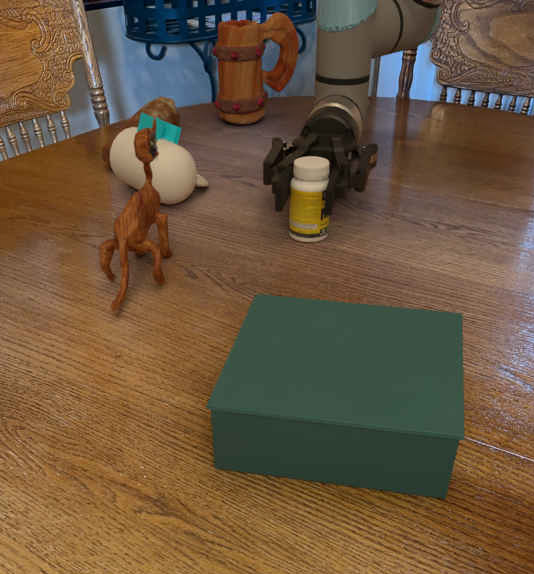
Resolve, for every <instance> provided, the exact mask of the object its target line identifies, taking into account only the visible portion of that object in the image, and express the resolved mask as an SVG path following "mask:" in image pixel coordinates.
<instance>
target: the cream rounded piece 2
mask: <svg viewBox="0 0 534 574" xmlns="http://www.w3.org/2000/svg"><path fill="white" fill-rule="evenodd" d="M153 119H154V117H152V116H149V115H147V114H145V113H142V112H141V116H140V120H139V124H138V127H131V128H127V129H125V130H123V131H122V132H121V133H119V134H118V135H117V137H116V138H115V140H114V141H113V144H112V147H111V149H110V163H111V167H110V168H111V170H112V172H113V174H114V175H115V176H116V178H117V179H119V181H120V182H122V183H124V184H125V185H128V186H130V187H132V188H133V189H135V190H137V191H139V190H140V189H141V188H142V187H143V186H144V184H145V181H146V176H145V172H144V168H143V166H144V164H143V162H141V161H139V160H138V158H137V157H136V155H135V149H134V138H135V134H136V133H137V132H138V131H139V130H141V129H144V128H146V127H148V128H152V126H153ZM155 119H156V139H157V142H156V145H157V151H158V153H159V154H158V160H155V159H154V160H153V162H151V163H150V167H151V170H152V174H153V177H152V186H153V187H154V188H155V189H156V190H157V191H158V192H159V194H160V198H161V199H160V204H161V203H162V204H164V205H176V204H179V203H181V202H183V201H185V200H186V199H187V198H188V197H190V196H191V194H192V193H193V191H194V189H195V187H196V188H207V187H208V186H209V182H208V180H207V179H206V178H205V177H203V176H202V175H200V174H199V173H198V170H197V169H198V168H197V165H196V162H195V159H194V158H193V156H192V155H191V153H190V152H189V151H188V150H187V149H185V148H184V147H183V146H182V145H179V140H180V136H181V134H182V127H180V126H179V127H178V126H175V125H172V124H170V123H167V122H165V121H162V120H161V118H155Z"/></svg>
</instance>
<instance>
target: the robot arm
mask: <svg viewBox="0 0 534 574" xmlns="http://www.w3.org/2000/svg"><path fill="white" fill-rule="evenodd" d="M443 2H444V0H318V6H317V7H318V8H317V14H316V18H315V21H316V22H315V23H316V47H315V49H316V51H315V78H314V93H313V94H314V95H313V108H312V110H311V111H310V113H309V115H308V117H307V118H306V121H305V123H304V124H303V126H302V128H301V130H300V133H299V136H298V137H296V138H294V139H293V140H292V142H291V143H288V141H287V140H283V139H282V138H281V137H277V136H276V137H275V136H274V137H273V138H271V148H270V150H269V151H268V153H267V155H266V156H265V158H264V160H263V161H262V184H263V185H264V186H271V194H272V195H274V205H275V206H274V212H276V213H283V211H284V208H285V206H286V204H287V202H288V200H289V199H290V182H291V180H292V178H293V177H295V176H294V172H293V170H294V161H295V160H296V159H298V158H301V157H308V156H315V157H322V158H325V159H327V160H328V161H329V182H328V184H327V187H326V190H325V207H324V215H328V216H329V217H331V216H332V213H333V211H334V207H335V205H336V201H337V199H338V200H344V199H346V198H347V195H348V193H349V192H350V190H351V189H354V191H355V192H356V193H363V192H365V191H366V188H367V184H368V180H369V177H370V173H371V171H372V170H373V169H375V168H376V167H377V163H378V151H379V144H377V143H369V144H368V145H362V146H361V147H360V145H359V143H360V140H361V137H362V133H363V130H364V128H365V127H366V123H367V122H368V119H369V112H370V111H369V110H370V101H369V90H370V89H369V88H370V77H371V69H372V68H371V67H372V60H373V59H377V58H381V57H384V56H387V55H392V54H395V53H401V52H403V51H407V52H408V51H409V50H414V49H415V48H418V47H420V46H421V45H424V44H425V43H427V42H428V41H430V40H431V39H432V38H433V37H434V36H435V34H436V33H437V32H438V29H439V27H440V23H441V17H442V13H443V12H442V3H443ZM355 161H357V165H356V168H355V171H351V167H352V163H353V162H355Z"/></svg>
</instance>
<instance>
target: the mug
mask: <svg viewBox="0 0 534 574" xmlns="http://www.w3.org/2000/svg"><path fill="white" fill-rule="evenodd" d="M268 39H269V40H270V41H272V42H273V43H275V44H276V45H278V46H279V52H278V59H277V62H276V63H275V66H274V67H273V68H272V69H271V70H269V71H267V70H263V60H262V57H263V56H264V55H265V50H266V44H265V43H264V41H265V40H268ZM299 47H300V45H299V36H298V32H297V30H296V28H295V25H294V23H293V21H292V20H291V19H290V18H289V16H288V15H286V13H285V14H284V13H283V12H280V11H279V12H278V11H276V12H274V13H272V14H271V15H270V16H269V17H268V18H267V19H266V20H265V22H263V23H259V22H258V21H256V20H251V21H250V19H239V20H238V21H237V20H235V19H229V20H225V21H220V22H219V23H218V24H217V41H216V42H215V44H214V48H213V49H212V50H211V51H212V53H211V54H212V55H213V56H214V57H215V58H216V59H217V73H218V74H217V75H218V93H217V94H216V97H215V98H216V99H215V100H214V102H213V107H215V108H216V109H217V110H219V117H220V119H221V120H224V121H226V122H228V123H230V124H232V125H236V126H237V125H239V126H242V125H243V126H245V125H250V124H253V123H256V122H258V121H260V120H261V118H263V117H264V116H265V114H266V105H267V99H268V98H269V93H268V91H267V90H265V89H264V84H265V85H267V87H269V88H271V89H272V90H273V91H275V92H276V93H281V92H282V91H283V90H284V89H285V88H286V87H287V85H288V84H289V82H290V81H291V79H292V77H293V75H294V74H295V70H296V67H297V63H298V58H299V49H300V48H299Z"/></svg>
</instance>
